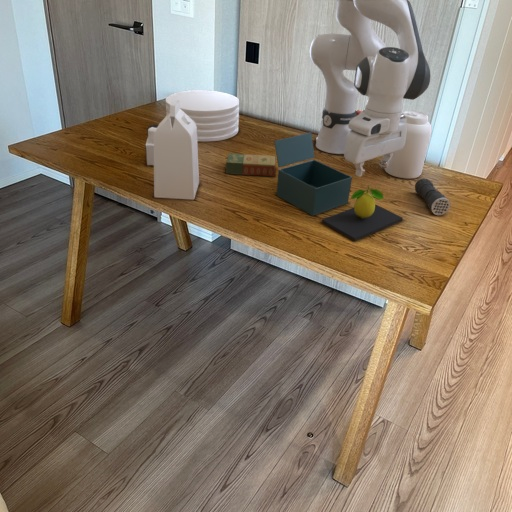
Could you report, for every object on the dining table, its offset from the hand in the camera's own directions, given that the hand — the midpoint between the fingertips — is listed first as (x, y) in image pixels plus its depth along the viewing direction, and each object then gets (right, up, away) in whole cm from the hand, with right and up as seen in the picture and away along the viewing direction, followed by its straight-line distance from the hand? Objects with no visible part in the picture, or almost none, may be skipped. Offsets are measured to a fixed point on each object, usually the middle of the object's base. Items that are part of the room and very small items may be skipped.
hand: (371, 171), depth 130 cm
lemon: (-1, -12, +7) cm, 14 cm away
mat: (-1, -13, +8) cm, 15 cm away
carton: (-32, +6, +34) cm, 47 cm away
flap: (-19, +9, +17) cm, 27 cm away
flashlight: (+22, -7, +19) cm, 30 cm away
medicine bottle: (-63, +9, +36) cm, 73 cm away
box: (-14, -5, +18) cm, 23 cm away
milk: (-54, -2, +19) cm, 57 cm away
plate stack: (-51, +28, +66) cm, 88 cm away
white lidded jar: (+20, +6, +39) cm, 44 cm away
